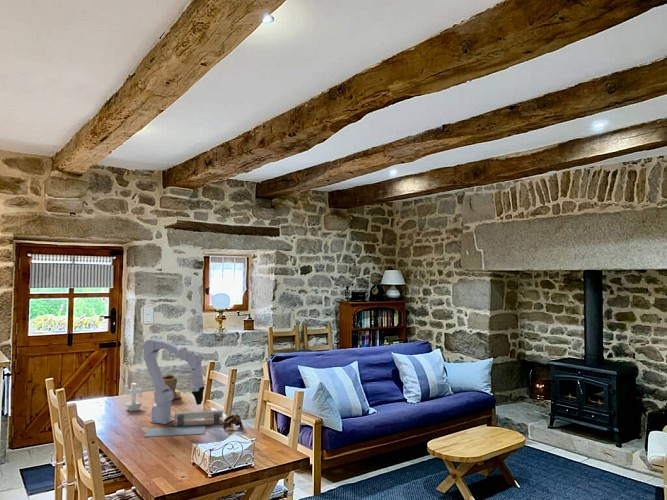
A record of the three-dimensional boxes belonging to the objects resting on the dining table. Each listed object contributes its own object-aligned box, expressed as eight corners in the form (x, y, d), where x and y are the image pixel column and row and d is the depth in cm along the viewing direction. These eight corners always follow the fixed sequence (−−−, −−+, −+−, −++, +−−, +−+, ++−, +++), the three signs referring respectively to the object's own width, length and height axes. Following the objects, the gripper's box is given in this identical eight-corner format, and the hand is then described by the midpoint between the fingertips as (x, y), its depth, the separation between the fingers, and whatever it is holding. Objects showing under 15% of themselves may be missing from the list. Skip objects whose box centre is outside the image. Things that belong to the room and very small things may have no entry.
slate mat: (144, 437, 237) (144, 436, 237) (147, 429, 249) (147, 428, 249) (204, 434, 243) (204, 433, 243) (205, 426, 255) (205, 425, 255)
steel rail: (174, 419, 254) (174, 413, 254) (175, 417, 257) (175, 412, 257) (222, 417, 260) (222, 411, 260) (222, 415, 263) (222, 410, 263)
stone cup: (159, 403, 297) (160, 378, 297) (154, 399, 306) (155, 374, 307) (184, 400, 305) (185, 375, 306) (179, 396, 315) (179, 372, 315)
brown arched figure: (242, 434, 247) (234, 420, 245) (226, 441, 248) (218, 427, 247) (248, 420, 258) (240, 407, 257) (232, 427, 260) (224, 414, 259)
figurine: (143, 409, 282) (144, 383, 283) (126, 412, 276) (127, 385, 277) (139, 407, 288) (140, 381, 289) (122, 409, 282) (123, 383, 283)
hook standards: (174, 427, 252) (174, 416, 252) (175, 423, 259) (175, 412, 259) (222, 425, 258) (222, 414, 258) (222, 421, 264) (222, 411, 265)
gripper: (203, 377, 253) (206, 404, 252) (205, 373, 267) (208, 398, 266) (189, 379, 252) (192, 406, 251) (192, 375, 266) (195, 401, 265)
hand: (199, 402), depth 259 cm, fingers open, 7 cm apart
